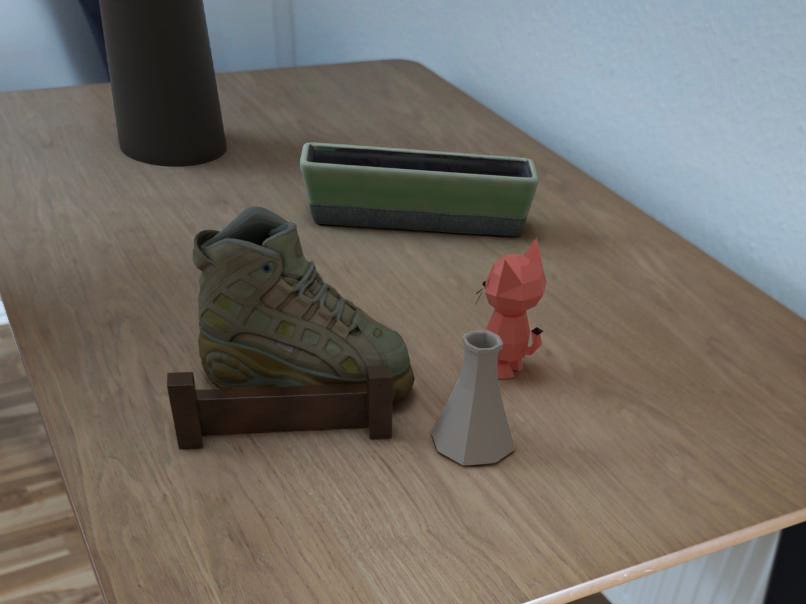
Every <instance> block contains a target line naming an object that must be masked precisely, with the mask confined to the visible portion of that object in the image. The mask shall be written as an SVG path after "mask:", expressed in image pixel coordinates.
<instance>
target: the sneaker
mask: <svg viewBox="0 0 806 604" xmlns="http://www.w3.org/2000/svg"><path fill="white" fill-rule="evenodd" d="M297 226H298V225H297V224H296V223H295V222H293V221H288V220H286V219H285V218H283V217H282V216H281V215H279V214H277V213H276V212H273V211H271V210H270V209H268V208H266V207H263V206H259V205H258V206H257V205H255V206H254V205H253V206H252V205H251V206H249V207H247V208H246V209H244V210H243V211H241V212H240V213H239V214H238V215H237V216H236V217H235V218H233V219H232V221H231V222H229V223H228V224H227V225H226V226H225V227H224V228H223V229H222V230H215V229H204V230H203V229H202V230H200V231H199V232H198V233H197V234H196V235H195V237H194V238H193V249H192V258H191V259H192V261H193V264H194V266H195V268H196V270H199V271H201V272H200V277H199V280H198V281H199V283H198V284H199V293H198V298H197V306H198V307H197V308H198V317H197V318H198V328H199V334H198V338H197V339H198V340H197V345H198V355H199V358H200V361H201V368H202V370H203V372H204V374H205V375H206V377H207V380H208V381H209V382H210V383H211V384H212V385H216V386H217V387H218V389H231V388H257V387H283V386H309V385H334V384H360V383H366V366H380V365H389V366H390V369H391V373H392V376H393V403H398V402H400V401H402V400H404V399H405V398H407V397H408V396H409V394H410V393H411V391H412V390H413V386H414V383H415V380H416V378H415V373H414V369H413V367H412V364H411V358H410V354H409V349H408V346H407V343H406V342H405V340H404V338H403V336H402V335H401V334H400V333H399V332H398V331H396V330H394V329H392V328H390V327H389V326H387V325H385V324H383V323H381V322H379V321H377V320H376V319H374V318H373V317H371V316H370V315H368V313H366V312H365V311H364V310H362V309H361V308H360V307H358V306H357V305H356V304H355V303H354V302H353V301H351V300H349V299H347V298H344V297H343V296H342V294H341V293H340V292H339V291H338V290H337V289H336V288H335V287H334V286H332V285H330V284H328V283H326V282H325V281H324V279H323V277H322V275H321V273H320V272H318V271H317V269H316V264H315V261H314V260H310V261H308V260H307V259H306V257H305V254H304V251H303V247H302V244H301V240H300V236H299V233H298V227H297ZM393 403H392V404H393Z"/></svg>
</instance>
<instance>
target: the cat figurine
mask: <svg viewBox="0 0 806 604" xmlns="http://www.w3.org/2000/svg"><path fill="white" fill-rule="evenodd" d="M481 285H482V286H483V287H484V291H485V292H484V293H485V296H486V300H487V303H488V304H489V305H490V306H491V307H492V308H493V309H494V310H493V312H492V314H491V316H490V318H489V321H488V323H487V325H486V328H485V330H488V331H490V332H492V333H495V334H497V335H499V336H500V338H501V340H502V342H503V348H502V350H500V351H499V353H498V362H497V370H498V380H507V379H508V380H509V379H514V377H515V373H514V371H517V372H520V371H522V370H524V366H523V361H522V359H524V358H526V356H530V357H531V356H532V355H534V354H535V353H536V351H537V350H538V349H539V348H540V347H541V346H542V345H543V341H542V336H541V335H542V333H543V332H544V330H543V329H541V328H540V327H538V326H536V327H535V328H533V329H532V330H531V329H530V328H531V327H530V322H529V318H528V313H527V311H528V310H530V309H533V308H535V307H536V306H538V303H539V302H540V301H541V299H542V298H543V296H544V294H545V290H546V287H547V278H546V274H545V271H544V266H543V261H542V256H541V250H540V245H539V241H538V237H535V239H534V240H533V242H532V243H531V244H530V246H529V247H528V248H527V250H526V251H525V253H524V254H516V253H512V254H511V253H510V254H505V255H503V256H502V257H500V258H499V259H497V260H496V261H495V262H493V265H492V267H491V269H490V271H489V273H488V275H487V277H486V280H484V281H482V284H481ZM482 291H483V288H481V289H480V290H478V291H476V293H475V295H477V294H479V293H480V292H481V293H480V295H479V296H478V298H477V300H476V301H475V304H474V305H475V306H476V305H477V303H478V301H479V299H480V298H481V296H482V294H483V292H482ZM530 336H531V338H532V344H531V346H529V342H530Z"/></svg>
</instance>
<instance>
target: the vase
mask: <svg viewBox="0 0 806 604" xmlns="http://www.w3.org/2000/svg"><path fill="white" fill-rule="evenodd" d="M98 4H99V10H100V17H101V26H102V30H103V31H102V32H103V39H104V45H105V53H106V61H107V65H108V66H107V67H108V68H107V69H108V74H109V83H110V89H111V96H112V104H113V109H114V118H115V125H116V130H117V138H118V144H119V148H120V150H121V152H122V153H123V154H124V155H126V156H127V157H129V158H131V159H133V160H136V161H138V162H142V163H147V164H151V165H158V166H170V167H171V166H174V167H175V166H177V167H178V166H191V165H199V164H202V163H203V164H204V163H207V162H211V161H213V160H215V159H217V158H219V157H221V156H222V155H224V153H226V150H227V140H226V139H227V138H226V134H225V127H224V122H223V115H222V110H221V101H220V97H219V95H220V94H219V91H218V83H217V79H216V78H217V77H216V72H215V67H214V59H213V55H212V48H211V42H210V41H211V40H210V35H209V29H208V24H207V23H208V22H207V17H206V12H205V4H204V0H98Z"/></svg>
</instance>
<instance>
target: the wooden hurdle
mask: <svg viewBox="0 0 806 604" xmlns="http://www.w3.org/2000/svg"><path fill="white" fill-rule="evenodd" d="M194 375H195V374H194V372H193V371H179V372H178V371H177V372H175V371H174V372H173V371H172V372H167V373H166V388H167V394H168V399H169V404H170V405H169V406H170V411H171V415H172V420H173V426H174V431H175V436H176V441H177V447H178V449H179V450H183V449H184V450H187V449H204V436H212V435H214V436H215V435H232V434H235V435H236V434H254V433H273V432H295V431H314V430H315V431H316V430H317V431H318V430H335V429H337V430H338V429H355V428H356V429H357V428H358V429H359V428H366V430H367V431H366V432H367V435H368V438H369V440H377V439H378V440H379V439H392V438H393V376H392V373H391V369H390V366H389V365H380V366H366V383H360V384H334V385H309V386H283V387H257V388H231V389H220V388H210V389H209V388H208V389H205V388H204V389H197V388H196V387H197V386H196V383H195V376H194Z"/></svg>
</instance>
